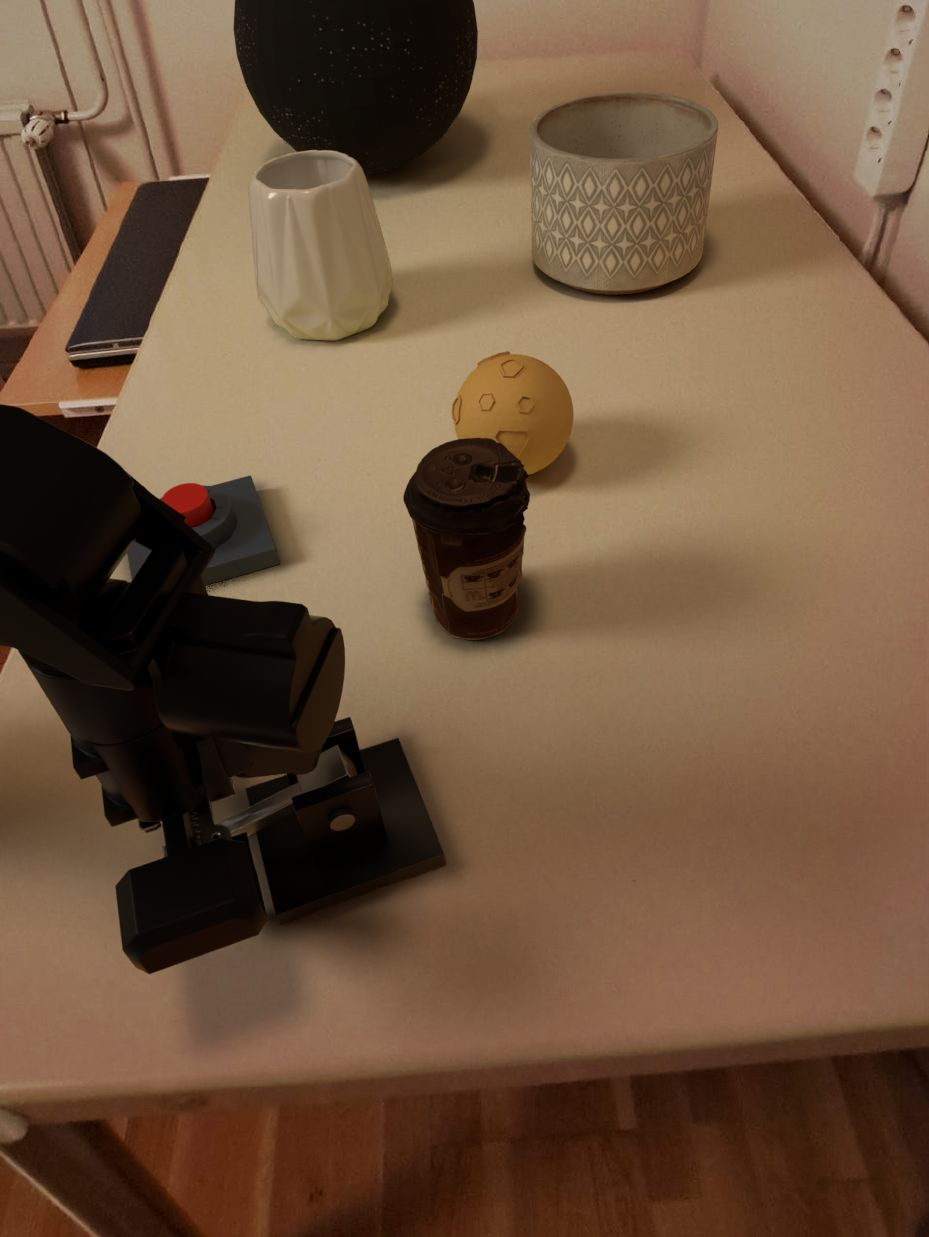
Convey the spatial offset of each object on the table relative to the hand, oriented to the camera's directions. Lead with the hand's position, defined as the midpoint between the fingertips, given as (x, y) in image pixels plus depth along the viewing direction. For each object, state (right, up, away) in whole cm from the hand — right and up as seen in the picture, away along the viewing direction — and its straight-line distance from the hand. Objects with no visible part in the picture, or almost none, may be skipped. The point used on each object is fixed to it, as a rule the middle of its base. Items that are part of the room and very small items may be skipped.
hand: (212, 862), depth 54 cm
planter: (+31, +54, +50) cm, 80 cm away
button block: (-7, +20, +22) cm, 30 cm away
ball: (+2, +76, +73) cm, 105 cm away
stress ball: (+19, +27, +26) cm, 42 cm away
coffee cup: (+16, +15, +15) cm, 26 cm away
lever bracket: (+7, +1, +3) cm, 8 cm away
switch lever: (+4, +3, 0) cm, 5 cm away
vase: (0, +46, +46) cm, 65 cm away
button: (-7, +22, +19) cm, 30 cm away
